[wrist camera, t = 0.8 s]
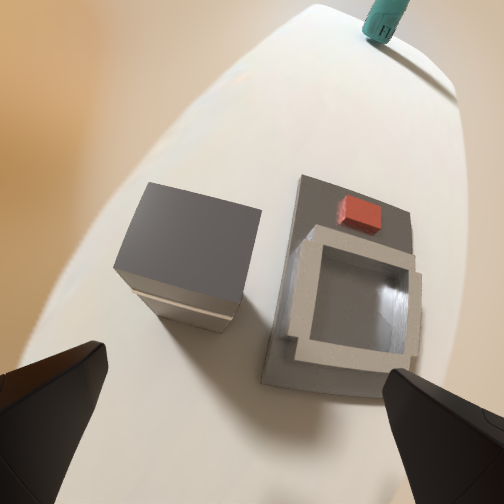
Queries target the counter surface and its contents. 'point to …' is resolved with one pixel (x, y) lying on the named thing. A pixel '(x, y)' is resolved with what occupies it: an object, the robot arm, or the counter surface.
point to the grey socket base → (344, 295)
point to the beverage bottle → (384, 19)
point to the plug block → (188, 255)
